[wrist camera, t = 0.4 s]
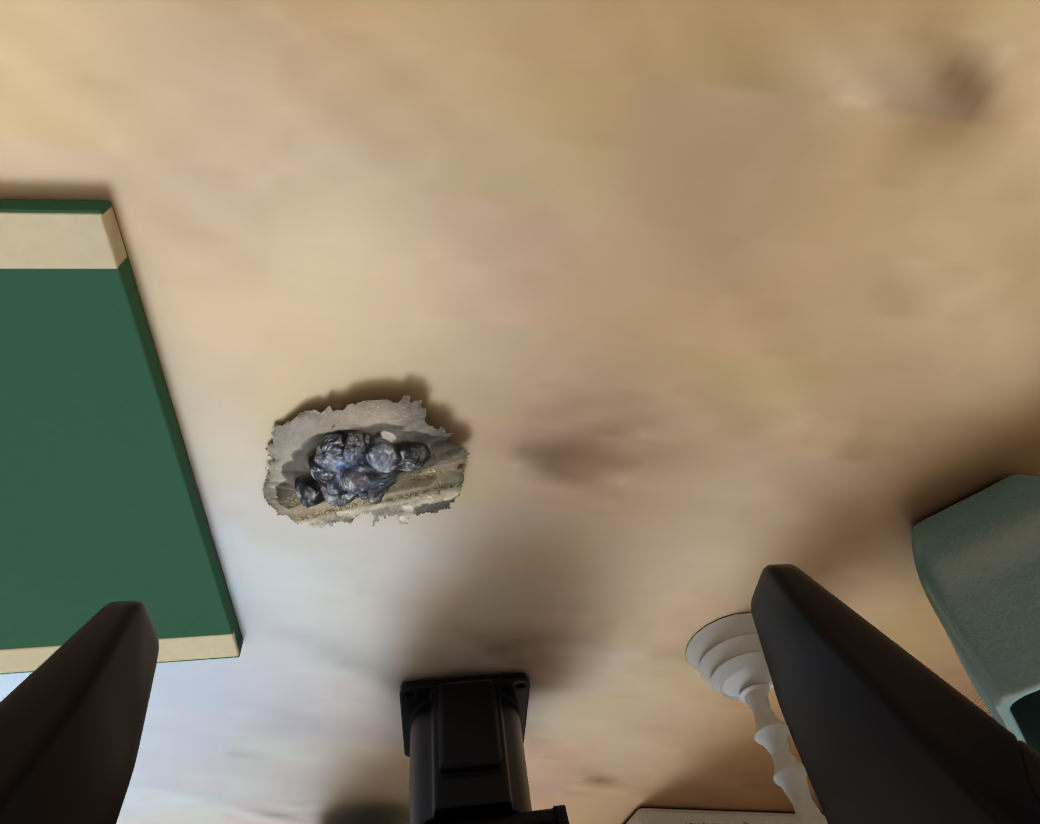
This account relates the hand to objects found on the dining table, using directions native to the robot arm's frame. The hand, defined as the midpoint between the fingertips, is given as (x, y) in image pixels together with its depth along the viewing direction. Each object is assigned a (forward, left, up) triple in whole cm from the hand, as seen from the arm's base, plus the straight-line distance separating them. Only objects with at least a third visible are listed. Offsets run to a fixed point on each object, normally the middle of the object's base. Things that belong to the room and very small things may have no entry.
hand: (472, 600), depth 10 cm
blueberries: (-9, +3, -14) cm, 16 cm away
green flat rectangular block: (-9, +15, -13) cm, 22 cm away
